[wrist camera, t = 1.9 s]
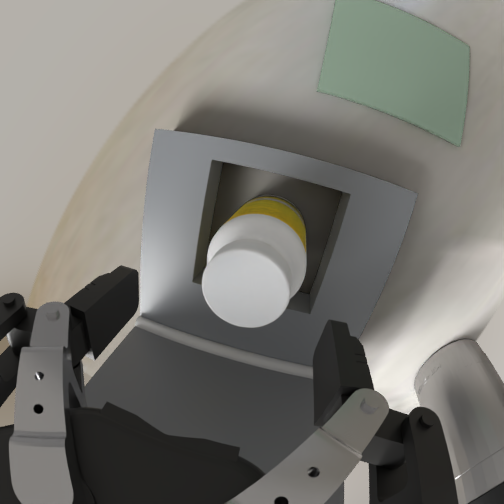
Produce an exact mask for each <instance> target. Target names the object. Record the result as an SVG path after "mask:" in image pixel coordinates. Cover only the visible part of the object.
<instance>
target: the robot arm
mask: <svg viewBox="0 0 504 504" xmlns="http://www.w3.org/2000/svg"><path fill="white" fill-rule="evenodd" d="M138 304H139V284H138V272H137V270H135V269H131V268H128V267H125V266H119V267H118V268H116V269H115V270H114V271H112V272H111V273H107V274H104V275H102V276H99V277H97V278H96V279H94V280H93V281H92V282H91V283H90V284H88V285H87V286H85V288H83V289H82V290H80V291H79V292H78V293H76V294H75V295H74V296H73V297H71V298H70V299H69V300H68V301H66V302H65V303H61V302H49V303H46V304H44V305H42V306H41V307H39V309H34V308H29V307H26V305H25V302H24V298H23V296H22V295H20V294H17V293H9V294H5V295H3V296H2V297H0V341H1V339H3V338H4V337H5V336H7V339H8V342H9V344H10V346H9V347H8V348H7V349H6V350H5V351H4V352H3V353H2V354H1V355H0V407H1V406H2V404H3V403H4V402H5V400H6V399H7V398H8V396H9V395H10V394H11V393H12V391H13V390H14V389H15V388H16V395H15V396H16V397H15V415H14V424H13V425H8V426H4V427H0V504H324V503H325V502H326V501H327V500H328V499H329V498H330V497H331V495H332V494H333V493H334V492H335V491H336V490H337V489H338V487H339V486H340V485H341V484H342V483H343V481H344V480H345V479H346V478H347V477H348V475H349V474H350V473H351V472H352V470H353V469H354V468H355V466H356V465H357V464H358V462H359V461H364V462H367V463H369V486H370V487H369V494H370V501H369V504H504V383H503V382H502V380H501V378H500V377H499V375H498V374H497V372H496V370H495V368H494V367H493V365H492V364H491V362H490V360H489V359H488V358H487V356H486V354H485V353H484V352H483V351H482V350H481V348H480V347H479V345H478V343H477V342H475V341H473V340H469V339H465V340H459V341H456V342H453V343H451V344H449V345H447V346H445V347H443V348H442V349H440V350H439V351H438V352H436V353H435V354H434V355H432V356H431V357H430V358H429V359H428V360H427V361H426V362H425V364H424V365H423V366H422V367H421V369H420V370H419V372H418V374H417V376H416V378H415V383H414V387H415V391H416V394H417V397H418V400H419V403H420V407H417V408H415V409H413V410H412V411H411V412H410V414H409V415H407V414H404V413H401V412H398V411H395V410H392V409H389V405H388V402H387V400H386V399H385V398H384V396H382V395H381V394H380V393H379V392H377V391H375V390H374V387H373V383H372V378H371V375H370V371H369V367H368V364H367V359H366V357H365V352H364V348H363V345H362V344H361V343H360V341H359V340H358V339H357V338H356V337H354V336H350V332H349V328H348V324H347V323H346V322H340V321H335V320H330V319H329V320H328V321H327V323H326V325H325V327H324V330H323V332H322V334H321V337H320V339H319V341H318V344H317V346H316V348H315V351H314V355H313V389H314V426H320V428H318V429H317V430H316V431H315V432H314V433H313V434H312V435H311V436H310V437H309V438H308V439H307V440H306V441H304V442H303V443H302V444H301V445H300V446H299V447H298V448H297V449H296V450H295V451H293V452H292V453H291V454H290V455H289V456H288V457H287V458H285V459H284V460H283V461H282V462H281V463H280V464H278V465H277V466H276V467H275V468H273V469H272V470H271V471H270V472H268V473H267V474H266V473H264V472H263V471H262V470H261V469H260V468H259V467H257V466H256V465H254V464H253V463H251V462H250V461H248V460H246V459H244V458H242V457H240V456H239V451H240V447H236V446H232V445H227V444H223V443H219V442H215V441H212V440H208V439H202V438H190V437H181V436H172V435H167V434H164V433H163V432H161V431H159V430H158V429H156V428H155V427H153V426H152V425H150V424H149V423H147V422H146V421H144V420H143V419H142V418H140V417H139V416H137V415H136V414H133V413H131V412H129V411H127V410H124V409H122V408H120V407H118V406H116V405H114V404H111V403H109V402H106V404H105V405H104V407H103V408H102V409H101V408H94V407H88V406H87V402H86V397H85V387H84V376H83V364H82V359H83V357H84V356H86V357H88V358H90V359H92V360H94V361H95V360H96V359H97V357H98V356H99V355H100V354H101V353H102V351H103V350H104V349H105V348H106V347H107V346H108V344H109V343H110V342H111V341H112V340H113V338H114V337H115V336H116V335H117V334H118V333H119V331H120V330H121V329H122V328H123V327H124V326H125V325H126V323H127V322H128V321H129V320H130V319H131V318H132V317H133V315H134V314H135V313H136V311H137V308H138Z"/></svg>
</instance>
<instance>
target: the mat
mask: <svg viewBox="0 0 504 504" xmlns="http://www.w3.org/2000/svg"><path fill="white" fill-rule="evenodd" d="M468 82H469V46H468V45H466V44H465V43H463V42H461V41H460V40H458V39H457V38H455V37H453V36H451V35H450V34H448V33H446V32H444V31H443V30H441V29H439V28H437V27H435V26H433V25H431V24H429V23H427V22H425V21H423V20H421V19H419V18H417V17H415V16H413V15H411V14H408V13H406V12H404V11H401V10H399V9H396V8H394V7H391V6H389V5H386V4H384V3H381V2H378V1H375V0H336V1H335V6H334V12H333V17H332V22H331V27H330V32H329V37H328V42H327V47H326V51H325V56H324V61H323V66H322V70H321V75H320V80H319V84H318V89H317V91H318V92H322V93H325V94H329V95H333V96H336V97H339V98H343V99H346V100H349V101H352V102H355V103H358V104H361V105H364V106H367V107H370V108H373V109H376V110H378V111H381V112H384V113H386V114H389V115H391V116H394V117H396V118H399V119H401V120H404V121H406V122H408V123H410V124H413V125H415V126H417V127H419V128H422V129H424V130H426V131H428V132H430V133H432V134H434V135H436V136H438V137H440V138H442V139H444V140H446V141H448V142H450V143H452V144H453V145H455V146H458V147H460V144H461V139H462V133H463V127H464V120H465V113H466V105H467V95H468Z"/></svg>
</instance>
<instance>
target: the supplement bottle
mask: <svg viewBox="0 0 504 504" xmlns="http://www.w3.org/2000/svg"><path fill="white" fill-rule="evenodd" d="M306 265H307V260H306V227H305V222H304V219H303V216H302V214H301V213H300V211H299V210H298V208H297V207H296V206H295V205H294V204H293V203H291V202H290V201H288V200H287V199H285V198H282V197H279V196H275V195H263V196H259V197H256V198H253V199H251V200H249V201H248V202H246V203H245V204H244V205H243V206H242V207H241V208H240V209H239V210H238V211H237V212H236V213H235V214H234V215H233V216H232V217H231V218H230V219H229V220H228V221H226V222H225V223H224V224H223V225H222V226H221V227H220V229H219V230H218V231H217V233H216V234H215V235H214V237H213V239H212V240H211V243H210V245H209V249H208V253H207V266H206V268H205V270H204V273H203V277H202V291H203V295H204V298H205V300H206V302H207V304H208V305H209V307H210V308H211V310H212V311H213V312H214V313H215V314H216V315H217V316H219V317H220V318H221V319H223V320H224V321H226V322H228V323H230V324H233V325H236V326H240V327H248V328H254V327H260V326H264V325H267V324H269V323H271V322H273V321H275V320H276V319H277V318H279V317H280V316H281V315H282V313H283V312H284V311H285V309H286V307H287V305H288V303H289V300H290V299H291V298H292V297H293V296H294V295H295V294H296V293H297V291H298V290H299V288H300V287H301V285H302V283H303V280H304V278H305V274H306Z"/></svg>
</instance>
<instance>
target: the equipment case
mask: <svg viewBox="0 0 504 504" xmlns="http://www.w3.org/2000/svg"><path fill="white" fill-rule="evenodd" d="M223 162H227V163H232V164H237V165H241V166H246V167H251V168H255V169H259V170H264V171H268V172H272V173H276V174H280V175H284V176H288V177H292V178H296V179H300V180H304V181H307V182H311V183H315V184H318V185H322V186H325V187H329V188H332V189H336V190H339V191H342V195H341V198H340V202H339V205H338V209H337V212H336V216H335V219H334V222H333V226H332V229H331V232H330V235H329V238H328V242H327V245H326V248H325V251H324V254H323V257H322V260H321V263H320V266H319V269H318V272H317V275H316V278H315V281H314V283H313V286H312V289H311V292H310V294H306V293H302V292H298V291H297V293H296V294H295V295H294V296H293V297H292V298H291V299H290V300H289V303H288V305H287V307H286V309H285V311H284V312H283V313H282V315H281V316H280V317H279V318H277V319H276V320H275V321H273V322H271V323H269V324H267V325H264V326H260V327H254V328H248V327H240V326H236V325H233V324H230V323H228V322H226V321H224V320H223V319H221V318H220V317H219V316H217V315H216V314H215V313H214V312H213V311H212V310H211V308H210V307H209V305H208V304H207V302H206V300H205V298H204V295H203V291H202V277H203V273H204V270H205V268H206V267H205V262H206V256H207V249H208V243H209V237H210V231H211V225H212V219H213V214H214V208H215V203H216V197H217V192H218V186H219V181H220V176H221V171H222V166H223ZM417 196H418V193H415V192H413V191H410V190H408V189H405V188H403V187H400V186H398V185H395V184H392V183H390V182H387V181H384V180H381V179H378V178H376V177H373V176H370V175H367V174H364V173H361V172H358V171H355V170H352V169H348V168H345V167H342V166H339V165H335V164H332V163H329V162H325V161H322V160H318V159H315V158H311V157H307V156H303V155H300V154H296V153H292V152H288V151H283V150H279V149H275V148H271V147H266V146H262V145H257V144H252V143H247V142H242V141H237V140H232V139H226V138H220V137H214V136H208V135H202V134H195V133H188V132H180V131H172V130H163V129H155V132H154V138H153V144H152V150H151V156H150V163H149V170H148V178H147V186H146V195H145V205H144V216H143V229H142V245H141V269H140V316H139V317H138V318H137V320H136V323H135V327H134V328H133V329H132V330H131V332H130V333H129V334H128V335H127V336H126V337H125V339H124V340H123V341H122V342H121V343H120V344H119V346H118V347H117V348H116V349H115V350H114V352H113V353H112V354H111V355H110V356H109V358H108V359H107V360H106V361H105V362H104V364H103V365H102V366H101V367H100V368H99V370H98V371H97V372H96V373H95V375H94V376H93V377H92V378H91V380H90V381H89V382H88V383H87V384H86V386H85V397H86V402H87V406H88V407H94V408H101V409H102V408H103V407H104V405H105V404H106V402H109V403H111V404H114V405H116V406H118V407H120V408H122V409H124V410H127V411H129V412H131V413H133V414H136V415H137V416H139V417H140V418H142V419H143V420H144V421H146V422H147V423H149V424H150V425H152V426H153V427H155V428H156V429H158V430H159V431H161V432H163V433H164V434H167V435H172V436H181V437H190V438H202V439H208V440H212V441H215V442H219V443H223V444H227V445H232V446H236V447H240V451H239V456H240V457H242V458H244V459H246V460H248V461H250V462H251V463H253V464H254V465H256V466H257V467H259V468H260V469H261V470H262V471H263V472H264V473H266V474H267V473H268V472H270V471H271V470H272V469H273V468H275V467H276V466H277V465H278V464H280V463H281V462H282V461H283V460H284V459H285V458H287V457H288V456H289V455H290V454H291V453H292V452H293V451H295V450H296V449H297V448H298V447H299V446H300V445H301V444H302V443H303V442H304V441H306V440H307V439H308V438H309V437H310V436H311V435H312V434H313V433H314V432H315V431H316V430H317V429H318V428H320V426H314V389H313V355H314V351H315V348H316V346H317V344H318V341H319V339H320V337H321V334H322V332H323V330H324V327H325V325H326V323H327V321H328V320H329V319H330V320H335V321H340V322H346V323H347V324H348V328H349V332H350V336H354V337H356V338H357V339H359V337H360V336H361V334H362V332H363V330H364V328H365V326H366V324H367V322H368V320H369V318H370V316H371V314H372V312H373V310H374V308H375V305H376V303H377V301H378V299H379V297H380V295H381V292H382V290H383V288H384V286H385V283H386V281H387V279H388V276H389V274H390V272H391V269H392V267H393V264H394V262H395V259H396V257H397V254H398V252H399V249H400V246H401V244H402V241H403V238H404V235H405V233H406V230H407V227H408V224H409V221H410V218H411V215H412V212H413V209H414V205H415V202H416V199H417ZM324 504H344V481H343V483H342V484H341V485H340V486H339V487H338V489H337V490H336V491H335V492H334V493H333V494H332V495H331V497H330V498H329V499H328V500H327V501H326V502H325V503H324Z"/></svg>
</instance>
